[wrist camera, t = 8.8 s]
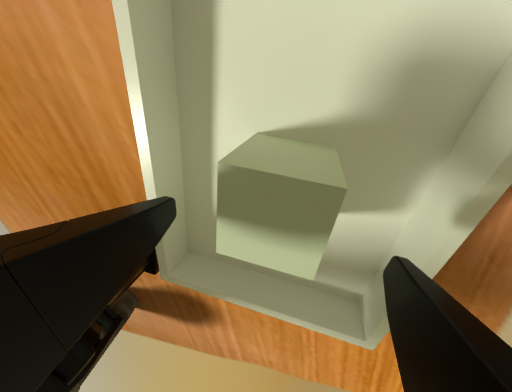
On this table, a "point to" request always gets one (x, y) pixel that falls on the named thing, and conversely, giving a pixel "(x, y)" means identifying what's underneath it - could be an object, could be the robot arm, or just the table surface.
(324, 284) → the bin
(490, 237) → the table surface
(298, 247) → the sage block
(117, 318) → the robot arm
